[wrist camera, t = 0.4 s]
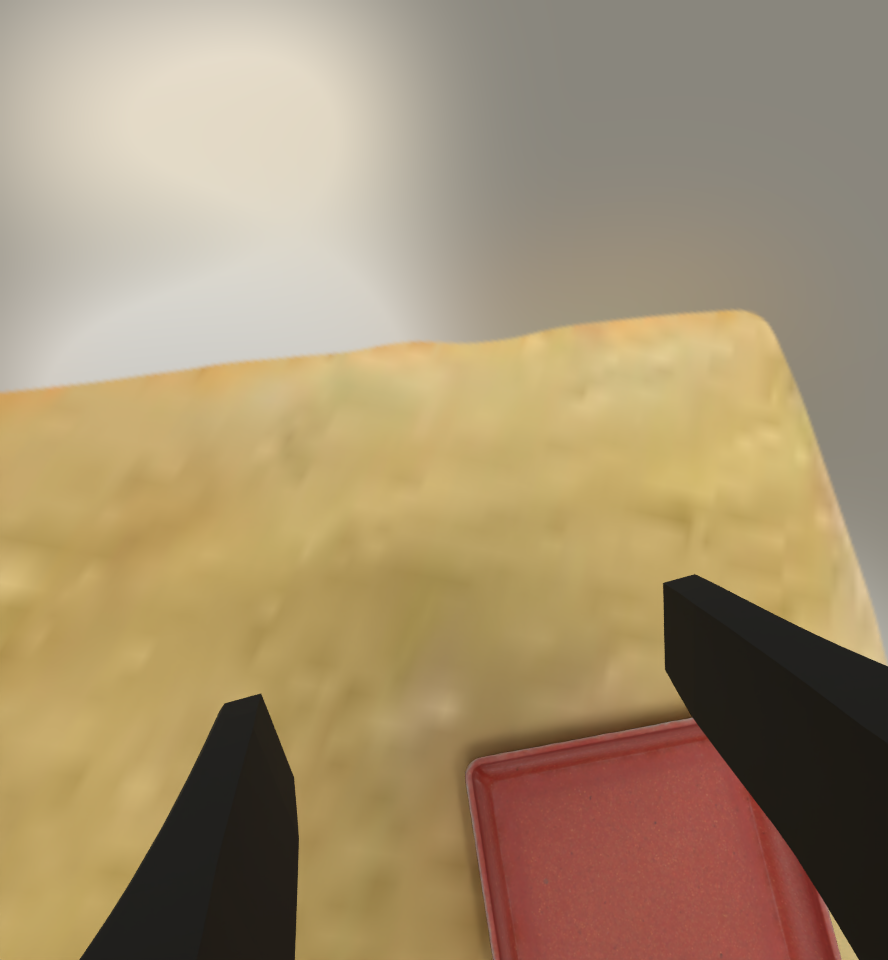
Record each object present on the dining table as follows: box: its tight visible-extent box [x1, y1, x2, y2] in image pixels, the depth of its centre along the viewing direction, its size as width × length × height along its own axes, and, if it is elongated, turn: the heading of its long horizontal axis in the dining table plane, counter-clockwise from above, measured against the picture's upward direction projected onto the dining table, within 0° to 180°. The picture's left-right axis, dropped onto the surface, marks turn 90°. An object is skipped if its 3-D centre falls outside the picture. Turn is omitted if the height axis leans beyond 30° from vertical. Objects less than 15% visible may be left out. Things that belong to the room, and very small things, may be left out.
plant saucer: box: [465, 718, 841, 960], centre depth 35 cm, size 18×18×3 cm
